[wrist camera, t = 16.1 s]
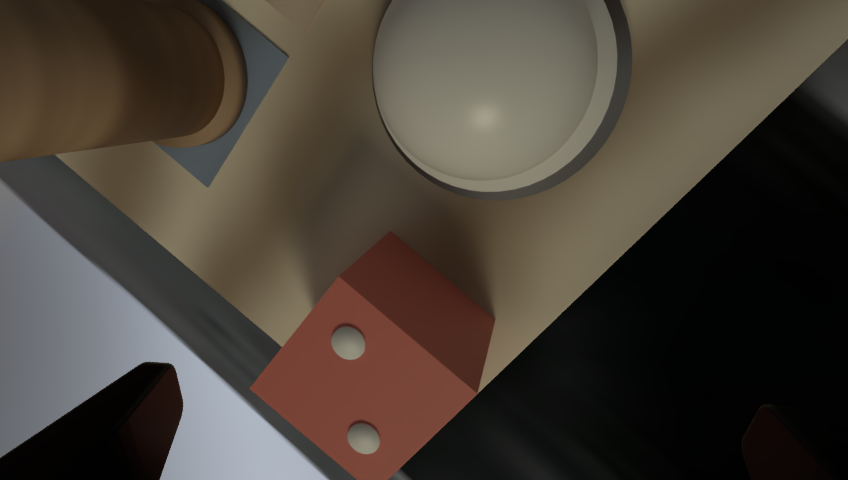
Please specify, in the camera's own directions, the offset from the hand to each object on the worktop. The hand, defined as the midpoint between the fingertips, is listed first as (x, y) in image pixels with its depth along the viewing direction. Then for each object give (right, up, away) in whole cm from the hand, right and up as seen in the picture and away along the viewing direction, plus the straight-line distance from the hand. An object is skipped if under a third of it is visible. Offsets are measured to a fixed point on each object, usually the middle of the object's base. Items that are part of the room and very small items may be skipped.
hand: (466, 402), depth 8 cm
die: (-2, -1, +12) cm, 12 cm away
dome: (+2, +8, +8) cm, 11 cm away
